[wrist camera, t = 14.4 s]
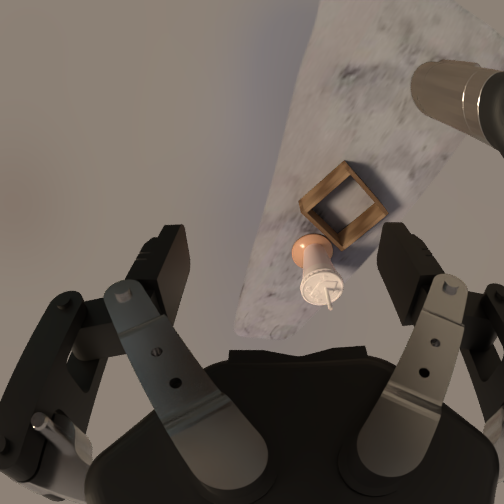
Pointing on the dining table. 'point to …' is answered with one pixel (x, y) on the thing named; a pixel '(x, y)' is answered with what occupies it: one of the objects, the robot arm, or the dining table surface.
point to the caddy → (353, 228)
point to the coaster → (307, 240)
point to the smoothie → (320, 277)
